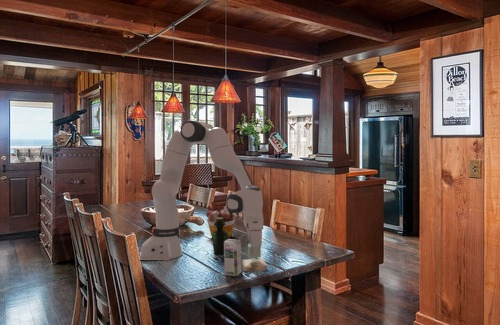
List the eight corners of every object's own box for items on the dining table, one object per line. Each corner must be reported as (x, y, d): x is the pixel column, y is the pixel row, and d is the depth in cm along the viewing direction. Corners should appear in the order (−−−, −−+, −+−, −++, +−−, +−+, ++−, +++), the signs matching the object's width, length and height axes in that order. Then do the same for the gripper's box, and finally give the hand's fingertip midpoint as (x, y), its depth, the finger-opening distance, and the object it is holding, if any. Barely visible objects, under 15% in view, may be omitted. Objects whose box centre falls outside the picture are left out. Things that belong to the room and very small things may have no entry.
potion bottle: (227, 250, 203) (226, 216, 202) (229, 255, 195) (228, 219, 194) (211, 251, 202) (210, 217, 201) (213, 256, 194) (212, 220, 193)
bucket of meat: (242, 237, 229) (241, 203, 227) (217, 242, 220) (216, 207, 218) (224, 231, 245) (223, 199, 244) (200, 235, 236) (199, 202, 235)
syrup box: (224, 275, 167) (223, 241, 166) (229, 270, 172) (229, 238, 171) (236, 276, 164) (235, 242, 164) (241, 272, 170) (241, 239, 169)
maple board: (244, 271, 171) (244, 266, 171) (241, 264, 181) (241, 259, 181) (266, 269, 172) (266, 265, 172) (263, 262, 182) (263, 258, 182)
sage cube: (249, 258, 173) (249, 247, 173) (248, 254, 178) (247, 243, 178) (260, 257, 174) (260, 246, 174) (259, 254, 179) (258, 243, 179)
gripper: (243, 217, 185) (244, 246, 186) (249, 227, 165) (249, 259, 166) (257, 217, 186) (257, 245, 187) (263, 226, 166) (264, 258, 167)
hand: (254, 252), depth 176 cm, fingers closed on sage cube, 5 cm apart
